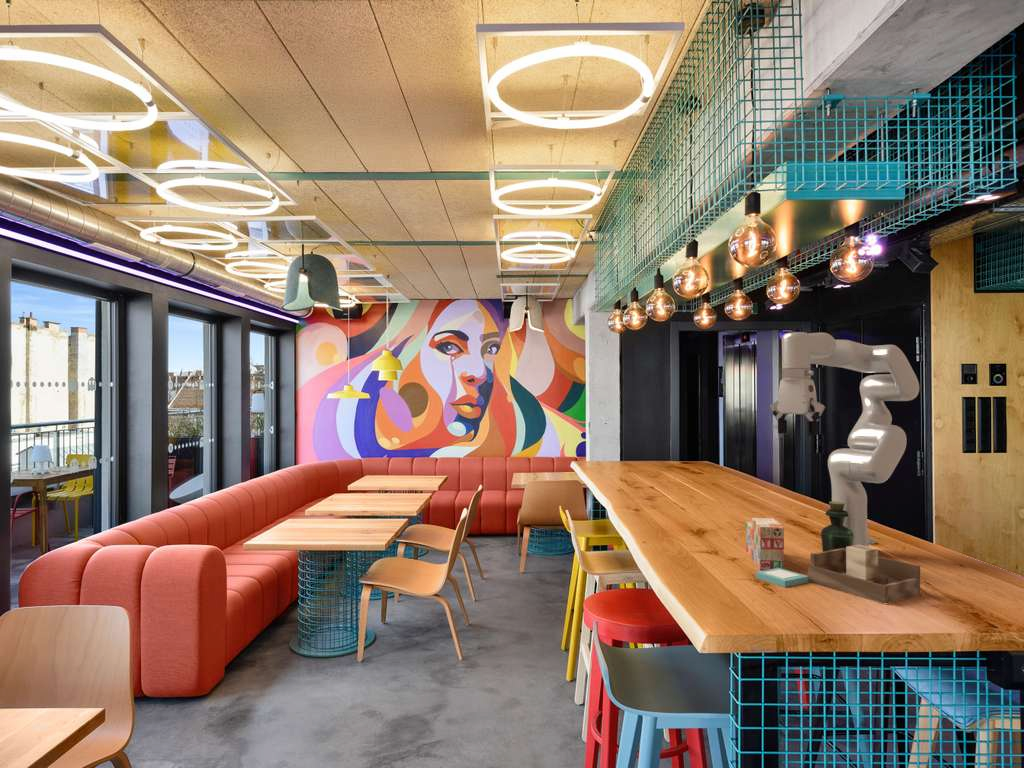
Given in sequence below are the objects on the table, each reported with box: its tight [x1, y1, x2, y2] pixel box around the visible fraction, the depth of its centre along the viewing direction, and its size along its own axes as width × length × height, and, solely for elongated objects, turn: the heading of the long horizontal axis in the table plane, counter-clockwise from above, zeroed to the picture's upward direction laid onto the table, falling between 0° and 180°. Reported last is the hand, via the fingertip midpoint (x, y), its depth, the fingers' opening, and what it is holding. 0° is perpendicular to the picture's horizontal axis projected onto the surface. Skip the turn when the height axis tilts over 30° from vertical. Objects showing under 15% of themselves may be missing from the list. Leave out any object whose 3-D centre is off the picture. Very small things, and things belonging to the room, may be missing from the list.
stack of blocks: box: [745, 517, 785, 571], centre depth 182 cm, size 21×6×12 cm, turn 170°
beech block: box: [846, 545, 879, 580], centre depth 157 cm, size 5×5×7 cm
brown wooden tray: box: [807, 548, 921, 604], centre depth 156 cm, size 14×20×7 cm
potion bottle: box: [820, 501, 853, 552], centre depth 175 cm, size 8×8×18 cm
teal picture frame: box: [755, 568, 810, 588], centre depth 163 cm, size 9×9×2 cm
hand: (796, 434), depth 182 cm, fingers open, 9 cm apart
